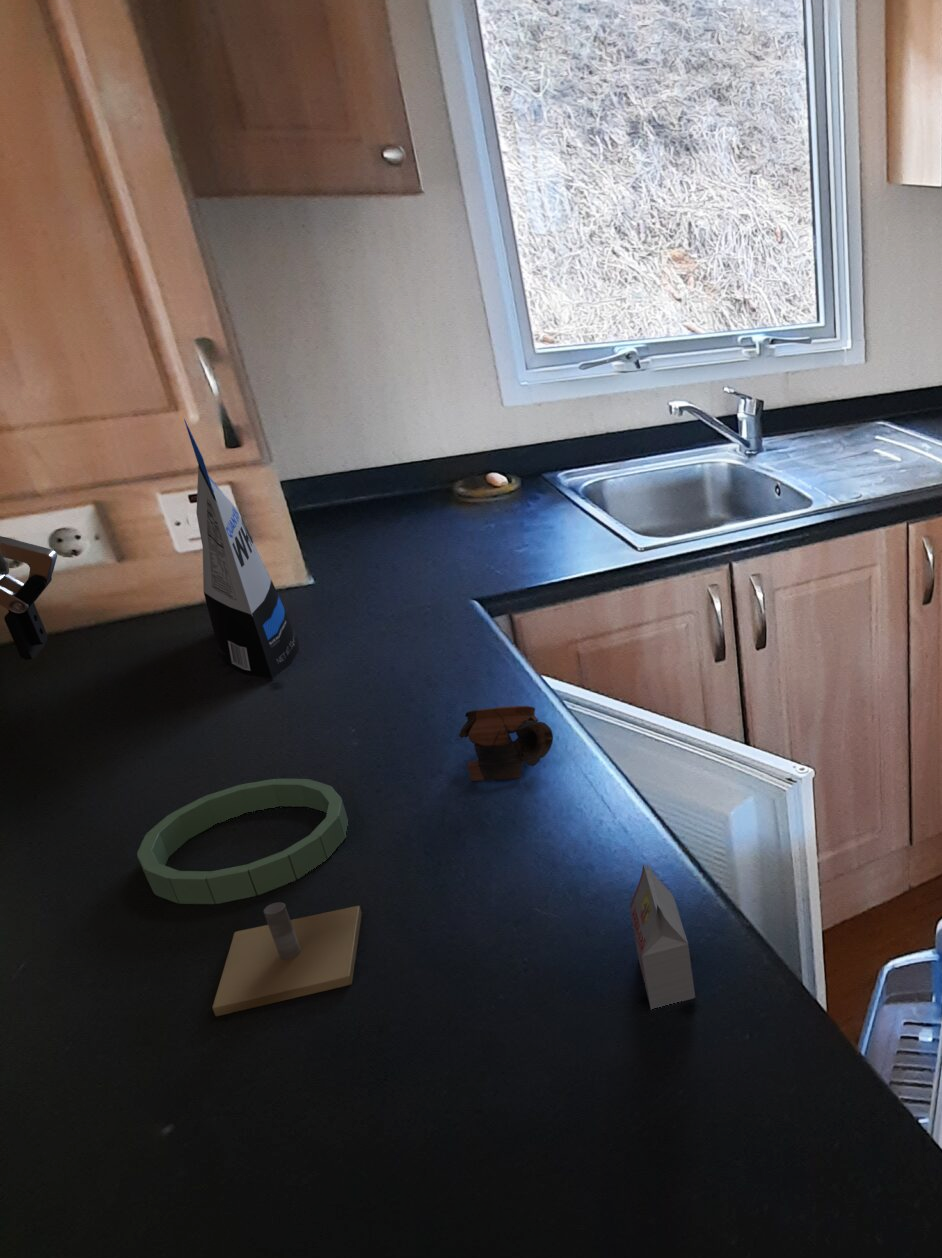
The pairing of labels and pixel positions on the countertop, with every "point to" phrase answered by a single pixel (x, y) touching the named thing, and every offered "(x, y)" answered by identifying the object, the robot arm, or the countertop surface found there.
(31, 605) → the robot arm
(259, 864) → the hoop
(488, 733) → the pottery mug
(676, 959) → the gable top carton
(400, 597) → the countertop surface
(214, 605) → the protein powder
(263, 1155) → the countertop surface
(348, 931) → the stand
